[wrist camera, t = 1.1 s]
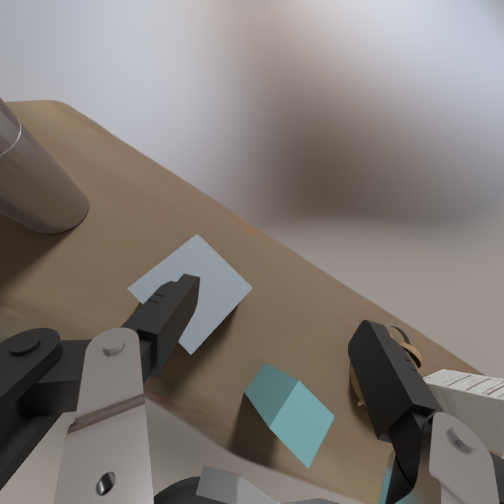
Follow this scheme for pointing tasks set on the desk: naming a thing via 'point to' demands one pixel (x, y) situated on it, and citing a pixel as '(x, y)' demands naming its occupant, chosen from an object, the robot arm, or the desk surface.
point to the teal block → (290, 411)
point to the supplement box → (472, 403)
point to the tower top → (210, 291)
